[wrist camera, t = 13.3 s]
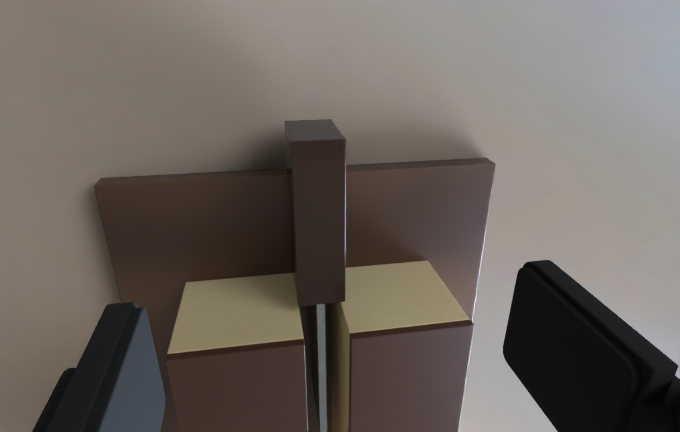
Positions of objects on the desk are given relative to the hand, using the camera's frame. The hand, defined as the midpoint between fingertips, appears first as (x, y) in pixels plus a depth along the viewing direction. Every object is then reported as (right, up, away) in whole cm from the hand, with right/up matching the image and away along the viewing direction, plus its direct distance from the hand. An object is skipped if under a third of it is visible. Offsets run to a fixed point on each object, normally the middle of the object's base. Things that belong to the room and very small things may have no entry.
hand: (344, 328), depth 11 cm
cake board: (-2, -6, +15) cm, 16 cm away
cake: (-2, -6, +15) cm, 16 cm away
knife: (-1, 0, +11) cm, 11 cm away
